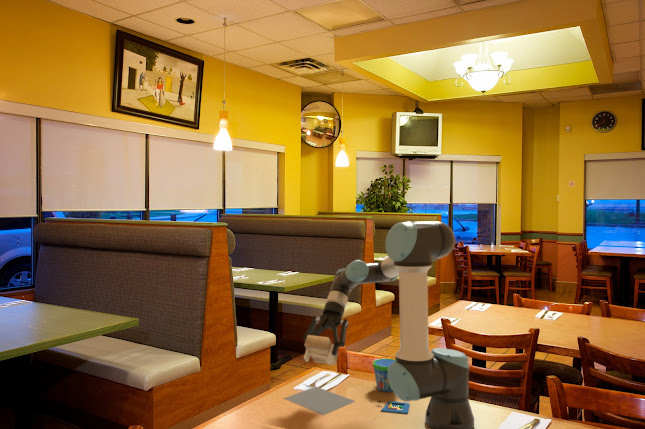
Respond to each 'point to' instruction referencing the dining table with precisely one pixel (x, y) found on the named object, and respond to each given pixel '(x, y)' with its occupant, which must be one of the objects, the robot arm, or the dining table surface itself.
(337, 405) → the mat
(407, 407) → the handheld gaming device
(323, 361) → the birch board
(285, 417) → the dining table surface
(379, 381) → the snack cup
